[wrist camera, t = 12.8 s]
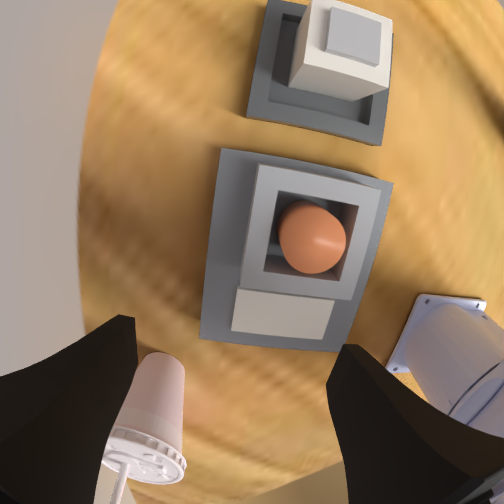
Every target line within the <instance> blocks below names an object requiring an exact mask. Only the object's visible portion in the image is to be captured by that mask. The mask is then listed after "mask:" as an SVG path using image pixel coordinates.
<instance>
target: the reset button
mask: <svg viewBox="0 0 504 504" xmlns="http://www.w3.org/2000/svg"><path fill="white" fill-rule="evenodd" d="M276 231H277V236H278V239H279V242H280V245H281V248H282V251H283V254H284V256H285V258H286V260H287V262H288V263H289V264H290V265H291V266H292V267H293V268H295V269H296V270H298V271H300V272H303V273H308V274H316V273H321V272H324V271H326V270H328V269H330V268H331V267H333V266H334V265H335V264H336V263H337V262H338V261H339V260H340V258H341V256H342V254H343V252H344V249H345V245H346V235H345V231H344V228H343V226H342V225H341V223H340V222H339V221H338V220H337V219H336V218H335V217H334V216H333V215H332V214H330V213H329V212H328V211H327V210H325V209H324V208H323V207H321V206H320V205H319V204H317V203H315V202H312V201H307V200H302V201H297V202H294V203H292V204H290V205H288V206H287V207H286V208H285V209H284V210H283V211H282V212H281V214H280V216H279V218H278V220H277V225H276Z"/></svg>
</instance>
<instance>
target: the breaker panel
mask: <svg viewBox="0 0 504 504" xmlns="http://www.w3.org/2000/svg"><path fill="white" fill-rule="evenodd" d="M393 184H394V183H391V182H387V181H384V180H380V179H377V178H373V177H369V176H365V175H361V174H357V173H353V172H349V171H345V170H341V169H337V168H332V167H328V166H323V165H319V164H314V163H309V162H304V161H299V160H294V159H289V158H284V157H278V156H272V155H267V154H260V153H254V152H248V151H241V150H234V149H227V148H221V153H220V160H219V167H218V173H217V180H216V188H215V195H214V202H213V210H212V218H211V226H210V234H209V243H208V251H207V260H206V270H205V279H204V289H203V300H202V311H201V322H200V334H199V339H206V340H213V341H220V342H227V343H235V344H243V345H252V346H261V347H271V348H282V349H294V350H308V351H325V352H340V350H341V347H342V345H343V344H345V342H346V340H347V337H348V335H349V332H350V330H351V327H352V324H353V322H354V319H355V316H356V313H357V311H358V308H359V305H360V302H361V299H362V296H363V293H364V290H365V287H366V284H367V281H368V278H369V275H370V272H371V269H372V265H373V262H374V259H375V255H376V252H377V248H378V245H379V241H380V238H381V234H382V230H383V226H384V222H385V218H386V214H387V210H388V206H389V202H390V197H391V193H392V188H393ZM302 200H307V201H312V202H315V203H317V204H319V205H320V206H321V207H323V208H324V209H325V210H327V211H328V212H329V213H330V214H332V215H333V216H334V217H335V218H336V219H337V220H338V221H339V222H340V223H341V225H342V226H343V228H344V231H345V235H346V245H345V249H344V252H343V254H342V256H341V258H340V260H339V261H338V262H337V263H336V264H335V265H334V266H333V267H331V268H330V269H328V270H326V271H324V272H321V273H316V274H308V273H303V272H300V271H298V270H296V269H295V268H293V267H292V266H291V265H290V264H289V263H288V262H287V260H286V258H285V256H284V254H283V251H282V248H281V245H280V242H279V239H278V236H277V231H276V225H277V220H278V218H279V216H280V214H281V212H282V211H283V210H284V209H285V208H286V207H287V206H288V205H290V204H292V203H294V202H297V201H302Z"/></svg>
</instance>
